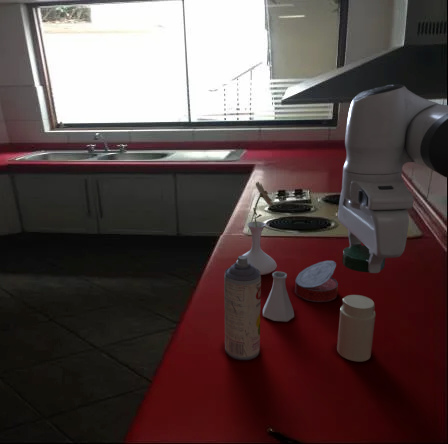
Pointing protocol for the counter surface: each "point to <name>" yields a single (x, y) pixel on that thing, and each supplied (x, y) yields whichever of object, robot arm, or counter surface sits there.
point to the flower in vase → (256, 254)
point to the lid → (357, 258)
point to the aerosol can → (242, 310)
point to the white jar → (356, 328)
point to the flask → (278, 300)
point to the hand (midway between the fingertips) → (363, 262)
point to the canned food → (317, 282)
